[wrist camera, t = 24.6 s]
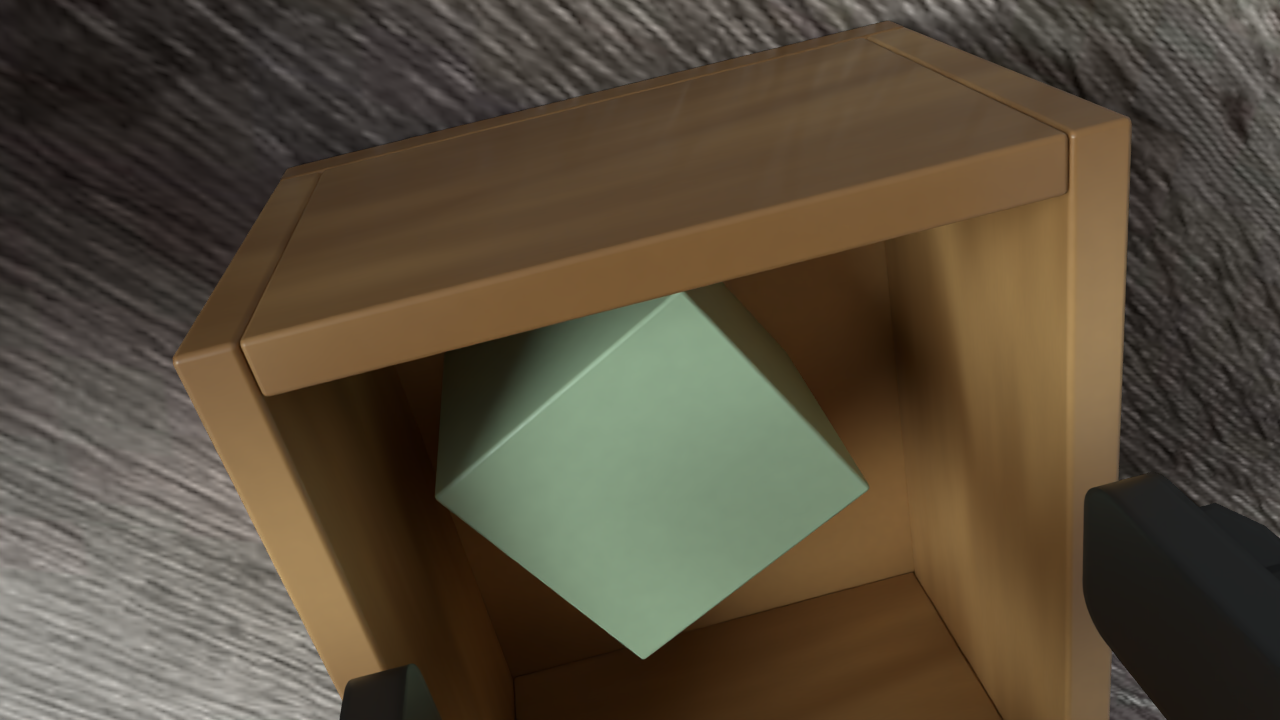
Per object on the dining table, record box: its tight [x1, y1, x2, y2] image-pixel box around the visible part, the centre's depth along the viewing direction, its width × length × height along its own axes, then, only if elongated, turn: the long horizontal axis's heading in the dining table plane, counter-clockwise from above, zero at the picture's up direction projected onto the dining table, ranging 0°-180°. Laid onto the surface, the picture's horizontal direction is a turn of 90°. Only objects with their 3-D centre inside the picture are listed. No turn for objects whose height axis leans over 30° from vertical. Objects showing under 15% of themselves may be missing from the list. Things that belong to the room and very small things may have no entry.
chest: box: [173, 21, 1132, 720], centre depth 18 cm, size 14×12×8 cm
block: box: [435, 282, 869, 659], centre depth 18 cm, size 5×5×5 cm
